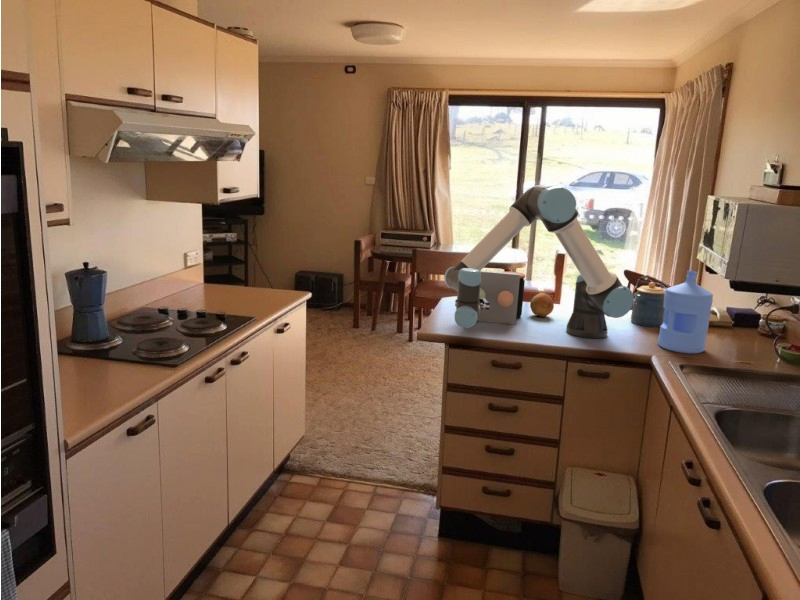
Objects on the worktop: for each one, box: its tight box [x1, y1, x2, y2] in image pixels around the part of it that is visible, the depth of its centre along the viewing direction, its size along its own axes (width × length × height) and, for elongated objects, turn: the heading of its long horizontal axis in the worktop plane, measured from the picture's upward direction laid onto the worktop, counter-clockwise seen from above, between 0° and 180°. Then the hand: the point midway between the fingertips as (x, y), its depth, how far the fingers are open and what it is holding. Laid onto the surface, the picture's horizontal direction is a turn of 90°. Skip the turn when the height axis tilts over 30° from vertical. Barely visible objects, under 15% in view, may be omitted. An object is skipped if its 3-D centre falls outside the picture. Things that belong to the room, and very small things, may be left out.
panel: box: [477, 270, 520, 325], centre depth 245 cm, size 3×20×20 cm, turn 77°
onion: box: [529, 292, 555, 318], centre depth 258 cm, size 10×10×10 cm
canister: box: [630, 281, 666, 328], centre depth 254 cm, size 13×13×18 cm
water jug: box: [657, 270, 714, 354], centre depth 219 cm, size 16×16×28 cm
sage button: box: [479, 288, 486, 298], centre depth 245 cm, size 8×6×6 cm
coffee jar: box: [504, 271, 526, 319], centre depth 256 cm, size 11×11×18 cm
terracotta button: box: [498, 291, 513, 307], centre depth 240 cm, size 8×6×6 cm
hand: (476, 296), depth 240 cm, fingers closed
